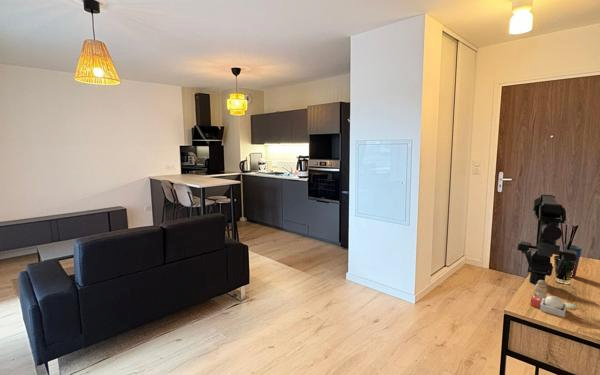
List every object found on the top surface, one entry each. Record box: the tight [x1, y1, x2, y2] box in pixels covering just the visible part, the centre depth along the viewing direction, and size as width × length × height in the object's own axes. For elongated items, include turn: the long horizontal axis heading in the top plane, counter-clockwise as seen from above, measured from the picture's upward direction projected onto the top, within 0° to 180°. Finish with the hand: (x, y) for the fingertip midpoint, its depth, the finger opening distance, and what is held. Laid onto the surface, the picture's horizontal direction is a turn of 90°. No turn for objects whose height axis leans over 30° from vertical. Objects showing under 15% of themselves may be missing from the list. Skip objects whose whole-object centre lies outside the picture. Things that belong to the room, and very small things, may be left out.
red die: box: [529, 295, 542, 309], centre depth 127 cm, size 3×3×3 cm
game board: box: [539, 298, 578, 318], centre depth 127 cm, size 18×14×4 cm
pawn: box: [533, 280, 549, 301], centre depth 132 cm, size 4×4×8 cm
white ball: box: [544, 295, 564, 310], centre depth 123 cm, size 6×6×6 cm
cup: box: [563, 243, 583, 278], centre depth 157 cm, size 7×7×15 cm
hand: (543, 270), depth 131 cm, fingers open, 9 cm apart
